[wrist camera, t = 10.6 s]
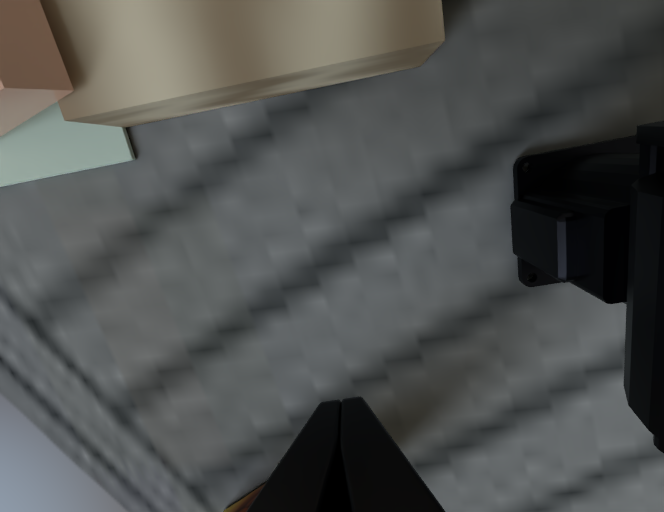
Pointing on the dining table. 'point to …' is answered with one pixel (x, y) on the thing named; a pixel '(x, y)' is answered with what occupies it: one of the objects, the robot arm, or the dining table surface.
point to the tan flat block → (226, 51)
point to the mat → (59, 147)
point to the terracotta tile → (28, 64)
